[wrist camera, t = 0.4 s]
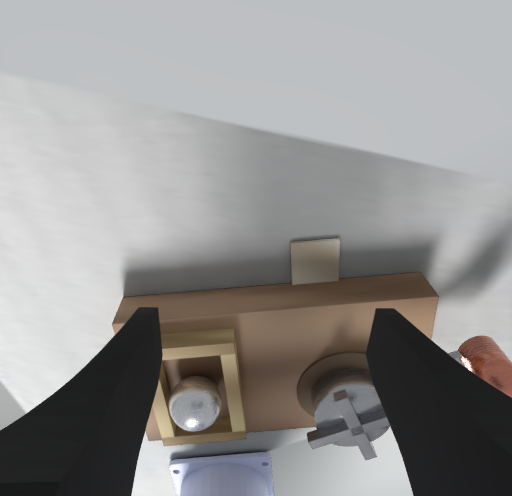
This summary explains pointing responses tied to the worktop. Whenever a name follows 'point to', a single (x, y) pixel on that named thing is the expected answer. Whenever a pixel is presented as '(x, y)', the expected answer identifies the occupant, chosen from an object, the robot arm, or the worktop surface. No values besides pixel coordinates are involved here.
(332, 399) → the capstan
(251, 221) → the worktop surface
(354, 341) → the stand
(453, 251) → the worktop surface
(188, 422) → the level ball
